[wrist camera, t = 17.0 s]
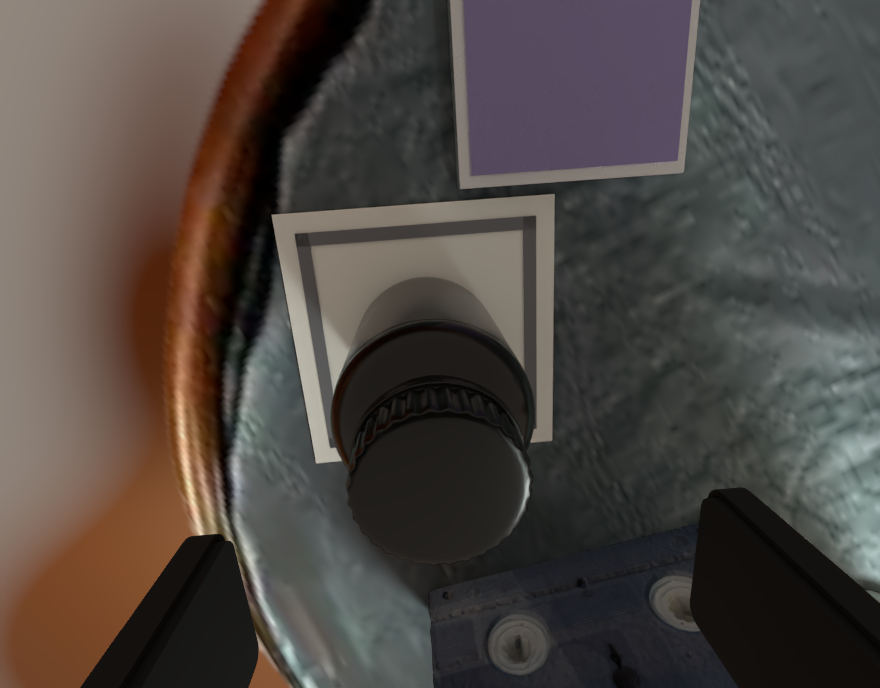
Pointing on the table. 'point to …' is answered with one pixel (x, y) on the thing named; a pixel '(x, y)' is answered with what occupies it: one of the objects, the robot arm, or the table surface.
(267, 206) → the table surface
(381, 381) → the supplement bottle
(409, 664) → the table surface
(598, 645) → the vhs cassette tape
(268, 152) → the table surface
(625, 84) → the ink pad
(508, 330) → the marked card
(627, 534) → the table surface
